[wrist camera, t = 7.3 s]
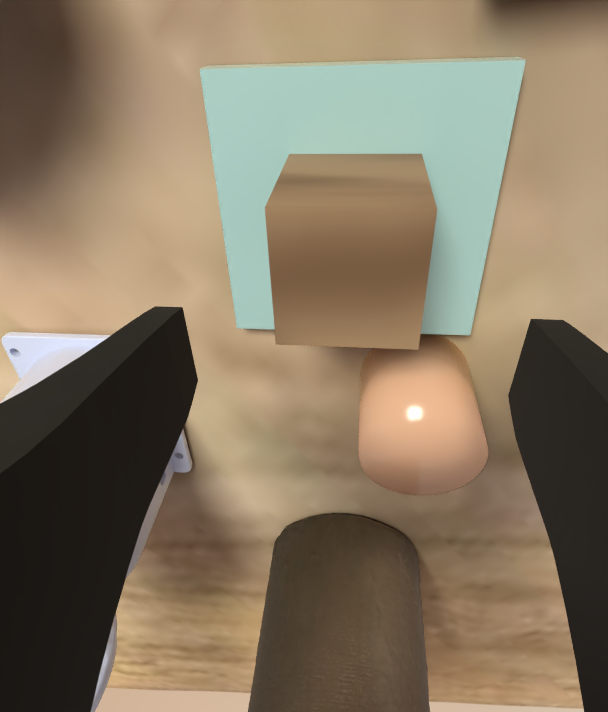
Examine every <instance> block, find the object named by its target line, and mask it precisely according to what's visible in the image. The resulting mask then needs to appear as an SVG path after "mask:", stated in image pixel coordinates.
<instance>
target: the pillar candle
mask: <svg viewBox="0 0 608 712" xmlns="http://www.w3.org/2000/svg"><path fill="white" fill-rule="evenodd" d="M419 575H420V574H419V563H418V557H417V553H416V550H415V548H414V546H413V545H412V543H411V542H410V541H409V540H408V539H407V538H406V537H405V536H404V535H403V534H402V533H400V532H398V531H397V530H395V529H393V528H391V527H388V526H386V525H384V524H382V523H379V522H376V521H374V520H371V519H369V518H365V517H361V516H356V515H349V514H334V513H333V514H329V515H327V514H325V515H320V516H314V517H309V518H307V519H304V520H301V521H300V522H299V521H298V522H295V523H293V524H291V525H289V526H287V527H286V528H285V529H284V530H283V531H282V533H281V535H280V536H279V537H278V538H277V539H276V541H275V544H274V549H273V557H272V562H271V568H270V576H269V582H268V587H267V593H266V600H265V607H264V612H263V618H262V626H261V630H260V638H259V643H258V650H257V656H256V665H255V672H254V677H253V684H252V689H251V697H250V703H249V709H248V712H430V707H429V694H428V691H429V690H428V677H427V663H426V654H425V641H424V626H423V617H422V603H421V592H420V576H419Z"/></svg>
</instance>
